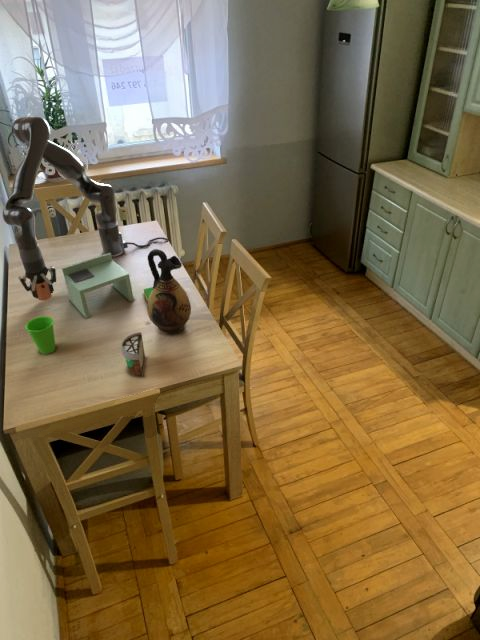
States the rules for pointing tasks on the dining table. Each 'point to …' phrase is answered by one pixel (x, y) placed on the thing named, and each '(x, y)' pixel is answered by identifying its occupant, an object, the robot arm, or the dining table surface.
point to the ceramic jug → (167, 296)
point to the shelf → (95, 279)
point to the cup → (42, 333)
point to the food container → (134, 353)
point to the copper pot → (43, 290)
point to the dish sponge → (147, 292)
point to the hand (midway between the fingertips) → (44, 294)
